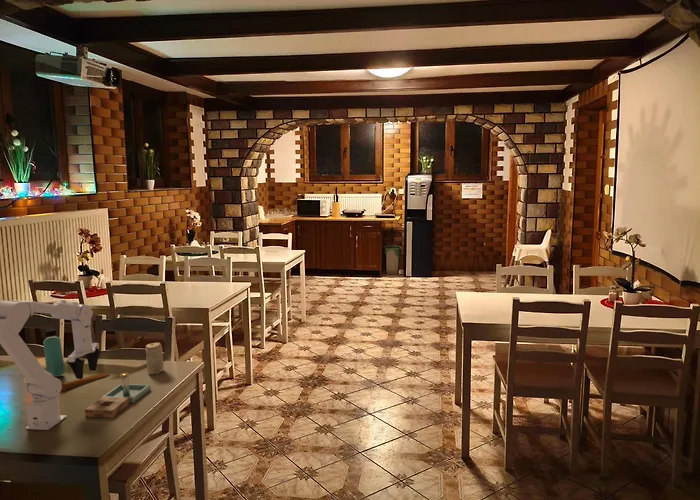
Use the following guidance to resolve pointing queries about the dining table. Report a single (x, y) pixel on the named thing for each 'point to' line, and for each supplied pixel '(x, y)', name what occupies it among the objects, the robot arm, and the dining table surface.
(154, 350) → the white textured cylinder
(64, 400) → the dining table surface
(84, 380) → the primitive tool
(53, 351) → the beverage bottle
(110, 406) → the socket block
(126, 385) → the pin
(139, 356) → the dining table surface
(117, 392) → the tray
